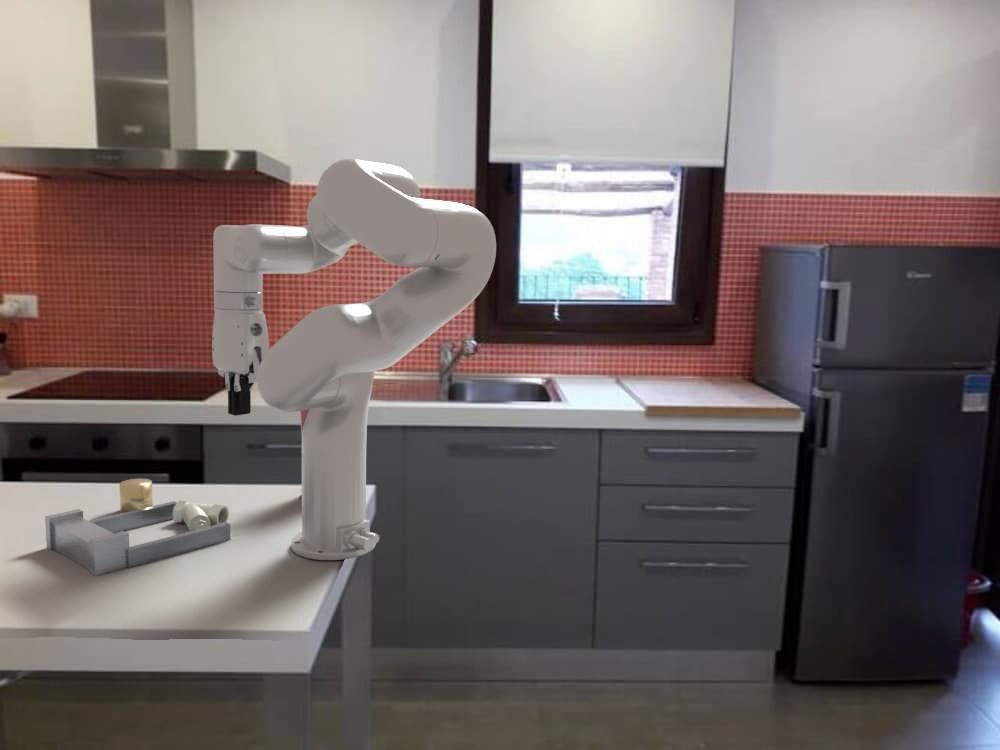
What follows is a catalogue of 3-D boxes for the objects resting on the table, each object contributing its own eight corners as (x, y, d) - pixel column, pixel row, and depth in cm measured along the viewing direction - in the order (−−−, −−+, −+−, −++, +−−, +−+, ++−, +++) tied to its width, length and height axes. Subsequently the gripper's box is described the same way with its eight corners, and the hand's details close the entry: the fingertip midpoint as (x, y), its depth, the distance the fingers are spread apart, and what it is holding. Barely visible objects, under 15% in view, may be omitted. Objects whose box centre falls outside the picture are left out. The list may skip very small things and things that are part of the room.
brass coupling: (158, 511, 139) (157, 482, 138) (129, 517, 135) (128, 488, 134) (143, 504, 142) (142, 477, 141) (115, 511, 138) (113, 482, 137)
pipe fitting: (205, 540, 127) (229, 523, 134) (204, 517, 126) (228, 501, 133) (160, 534, 129) (186, 518, 135) (158, 511, 128) (184, 496, 135)
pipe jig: (230, 539, 126) (229, 509, 125) (97, 576, 110) (95, 542, 110) (174, 515, 136) (173, 488, 136) (45, 546, 121) (43, 515, 120)
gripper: (286, 305, 130) (286, 418, 133) (232, 299, 139) (233, 404, 142) (245, 306, 124) (246, 424, 127) (192, 300, 134) (194, 409, 136)
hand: (239, 413), depth 135 cm, fingers closed
